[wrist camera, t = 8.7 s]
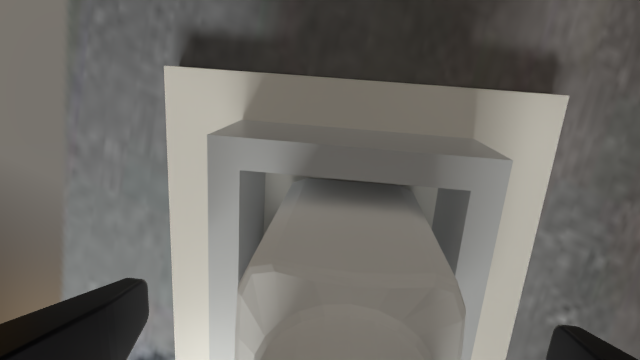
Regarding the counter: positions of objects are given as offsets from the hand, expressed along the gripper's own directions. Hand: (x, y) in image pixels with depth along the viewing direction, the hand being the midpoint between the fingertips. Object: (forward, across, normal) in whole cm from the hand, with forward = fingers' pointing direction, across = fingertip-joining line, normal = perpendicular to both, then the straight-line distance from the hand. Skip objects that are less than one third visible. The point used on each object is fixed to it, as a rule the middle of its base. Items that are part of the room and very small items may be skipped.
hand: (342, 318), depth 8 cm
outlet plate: (+6, 0, +4) cm, 7 cm away
